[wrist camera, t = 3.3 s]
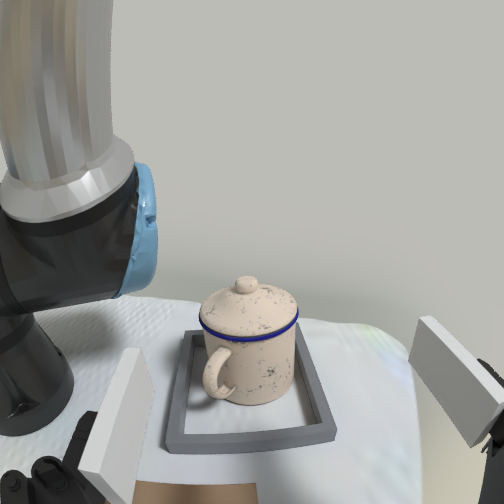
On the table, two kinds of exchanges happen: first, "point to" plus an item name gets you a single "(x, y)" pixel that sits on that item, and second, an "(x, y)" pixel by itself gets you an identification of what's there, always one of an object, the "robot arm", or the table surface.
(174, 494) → the walnut coaster
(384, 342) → the table surface
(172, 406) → the holder tray
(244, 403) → the teacup with lid
